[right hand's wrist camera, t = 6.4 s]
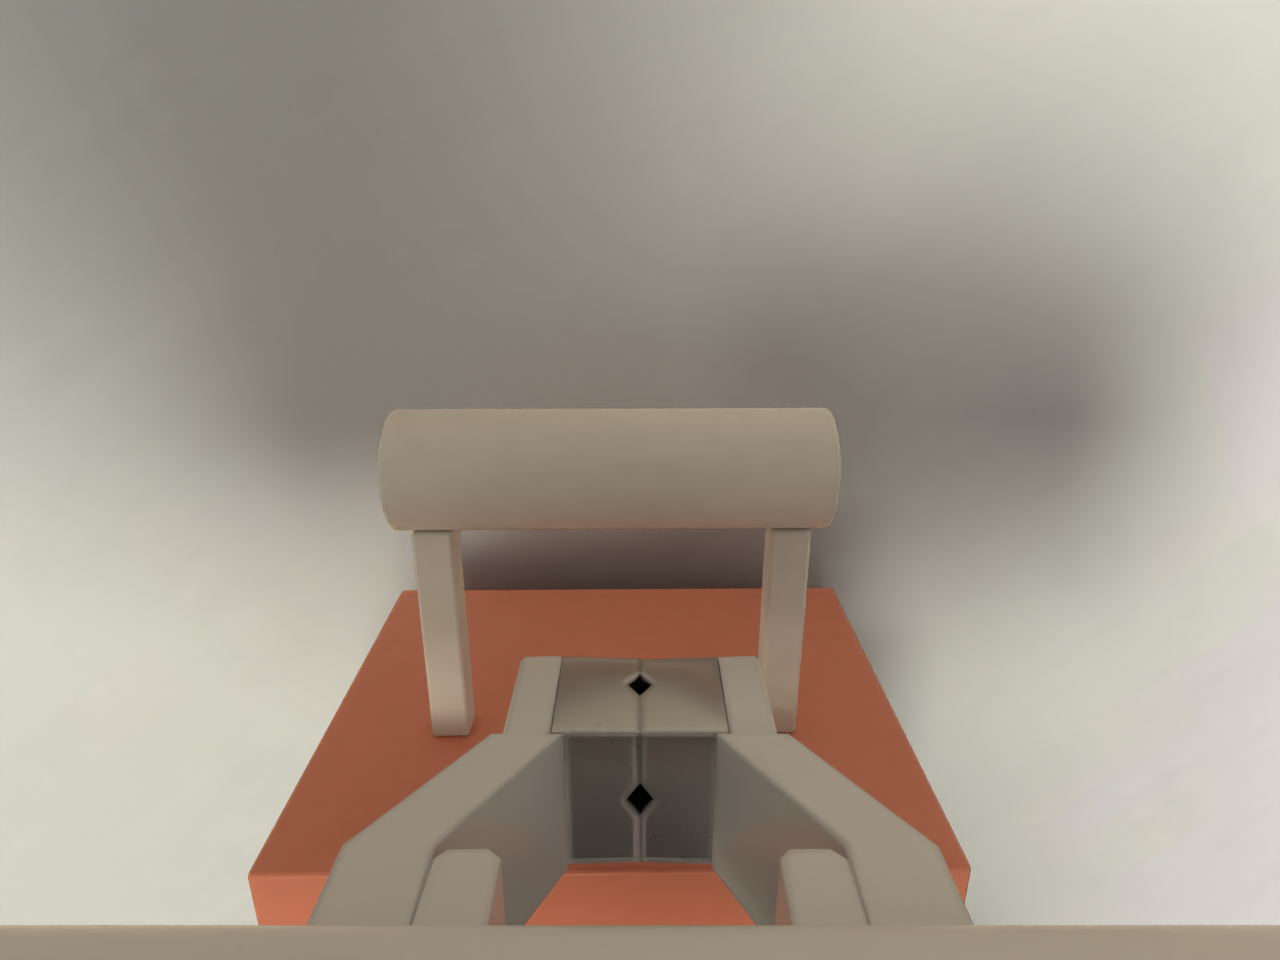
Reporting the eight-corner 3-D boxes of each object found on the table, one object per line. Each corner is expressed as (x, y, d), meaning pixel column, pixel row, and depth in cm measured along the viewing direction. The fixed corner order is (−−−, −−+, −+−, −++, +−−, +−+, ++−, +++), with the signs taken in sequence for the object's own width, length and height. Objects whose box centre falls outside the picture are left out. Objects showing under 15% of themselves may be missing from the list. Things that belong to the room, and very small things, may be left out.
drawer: (373, 345, 16) (158, 488, 9) (855, 344, 16) (1044, 485, 9) (456, 1060, 23) (376, 1469, 16) (789, 1056, 23) (862, 1458, 16)
